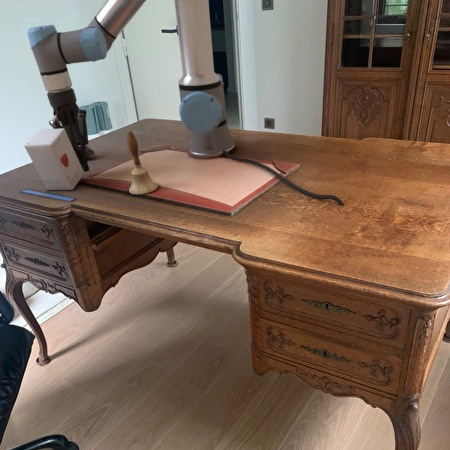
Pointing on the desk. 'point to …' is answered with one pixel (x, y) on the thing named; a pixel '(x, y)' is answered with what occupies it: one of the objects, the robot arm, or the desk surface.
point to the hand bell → (139, 171)
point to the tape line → (48, 195)
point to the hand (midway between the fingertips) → (84, 170)
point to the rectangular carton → (54, 159)
